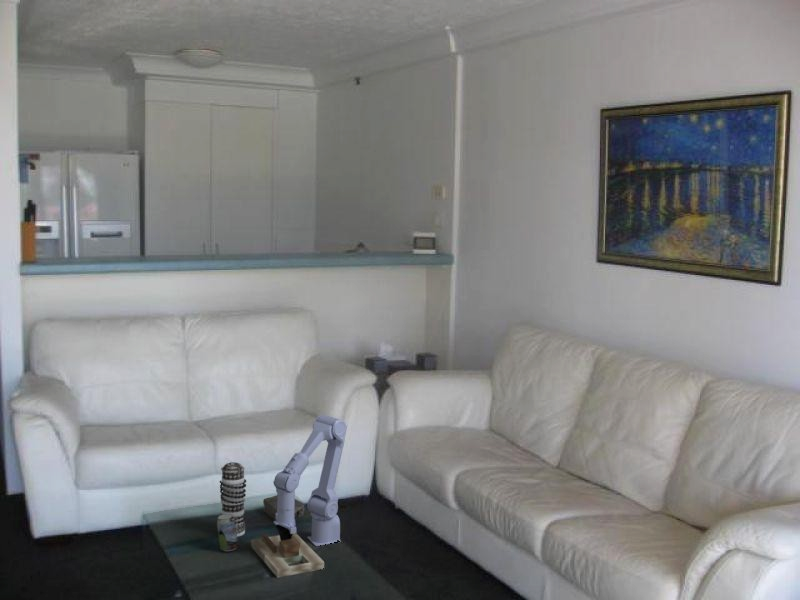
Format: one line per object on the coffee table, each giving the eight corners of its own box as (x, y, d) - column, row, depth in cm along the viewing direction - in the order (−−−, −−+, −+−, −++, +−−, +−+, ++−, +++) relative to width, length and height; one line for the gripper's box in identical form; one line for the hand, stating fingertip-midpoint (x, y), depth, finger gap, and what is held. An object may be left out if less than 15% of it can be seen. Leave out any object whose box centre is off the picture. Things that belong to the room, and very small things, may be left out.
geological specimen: (278, 510, 350) (260, 495, 362) (278, 526, 351) (260, 510, 364) (304, 504, 356) (286, 490, 368) (304, 520, 357) (286, 505, 369)
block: (293, 549, 323) (293, 538, 322) (299, 555, 318) (299, 544, 318) (279, 552, 320) (279, 540, 320) (284, 558, 316) (284, 546, 315)
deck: (295, 539, 337) (295, 527, 337) (324, 568, 315) (324, 556, 314) (251, 546, 330) (251, 534, 329) (277, 577, 307) (277, 564, 307)
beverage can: (234, 554, 324) (234, 520, 322) (213, 551, 325) (213, 518, 323) (241, 546, 330) (241, 513, 328) (220, 544, 331) (220, 511, 329)
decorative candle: (243, 538, 337) (244, 469, 333) (217, 537, 337) (217, 468, 333) (248, 527, 346) (248, 460, 342) (222, 527, 346) (222, 459, 342)
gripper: (267, 501, 325) (266, 540, 327) (282, 517, 313) (281, 556, 315) (286, 498, 328) (286, 536, 331) (302, 513, 316) (302, 553, 318)
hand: (285, 546), depth 323 cm, fingers closed
